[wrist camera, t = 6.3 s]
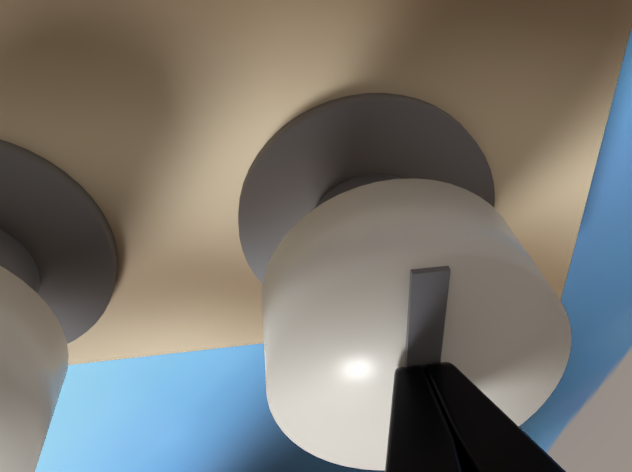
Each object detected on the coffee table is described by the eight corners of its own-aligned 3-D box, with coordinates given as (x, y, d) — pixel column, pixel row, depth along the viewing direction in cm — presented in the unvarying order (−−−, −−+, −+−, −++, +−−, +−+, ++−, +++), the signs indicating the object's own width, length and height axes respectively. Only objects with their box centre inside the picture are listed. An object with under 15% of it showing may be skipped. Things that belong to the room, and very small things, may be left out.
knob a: (467, 302, 13) (544, 457, 10) (269, 323, 13) (279, 491, 10) (492, 115, 11) (608, 241, 7) (246, 137, 10) (249, 278, 7)
